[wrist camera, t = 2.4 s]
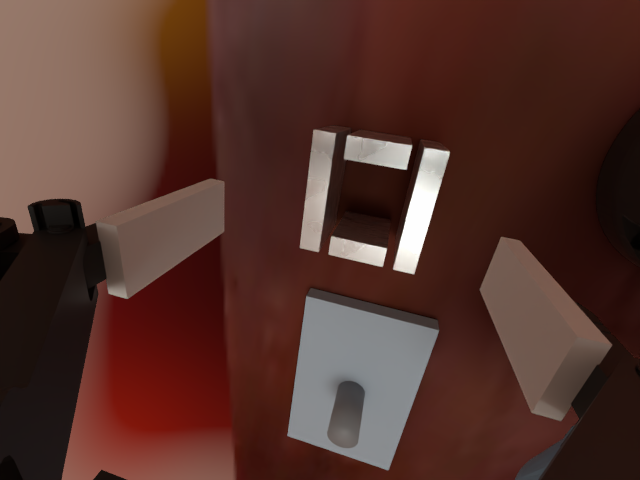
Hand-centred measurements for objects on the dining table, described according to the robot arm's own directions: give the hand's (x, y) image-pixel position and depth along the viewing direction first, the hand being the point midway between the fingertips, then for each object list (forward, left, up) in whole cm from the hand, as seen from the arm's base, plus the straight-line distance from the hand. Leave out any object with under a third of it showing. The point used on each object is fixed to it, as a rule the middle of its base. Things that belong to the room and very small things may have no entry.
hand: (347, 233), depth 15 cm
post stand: (-2, +21, -12) cm, 24 cm away
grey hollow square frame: (0, 0, -12) cm, 12 cm away
